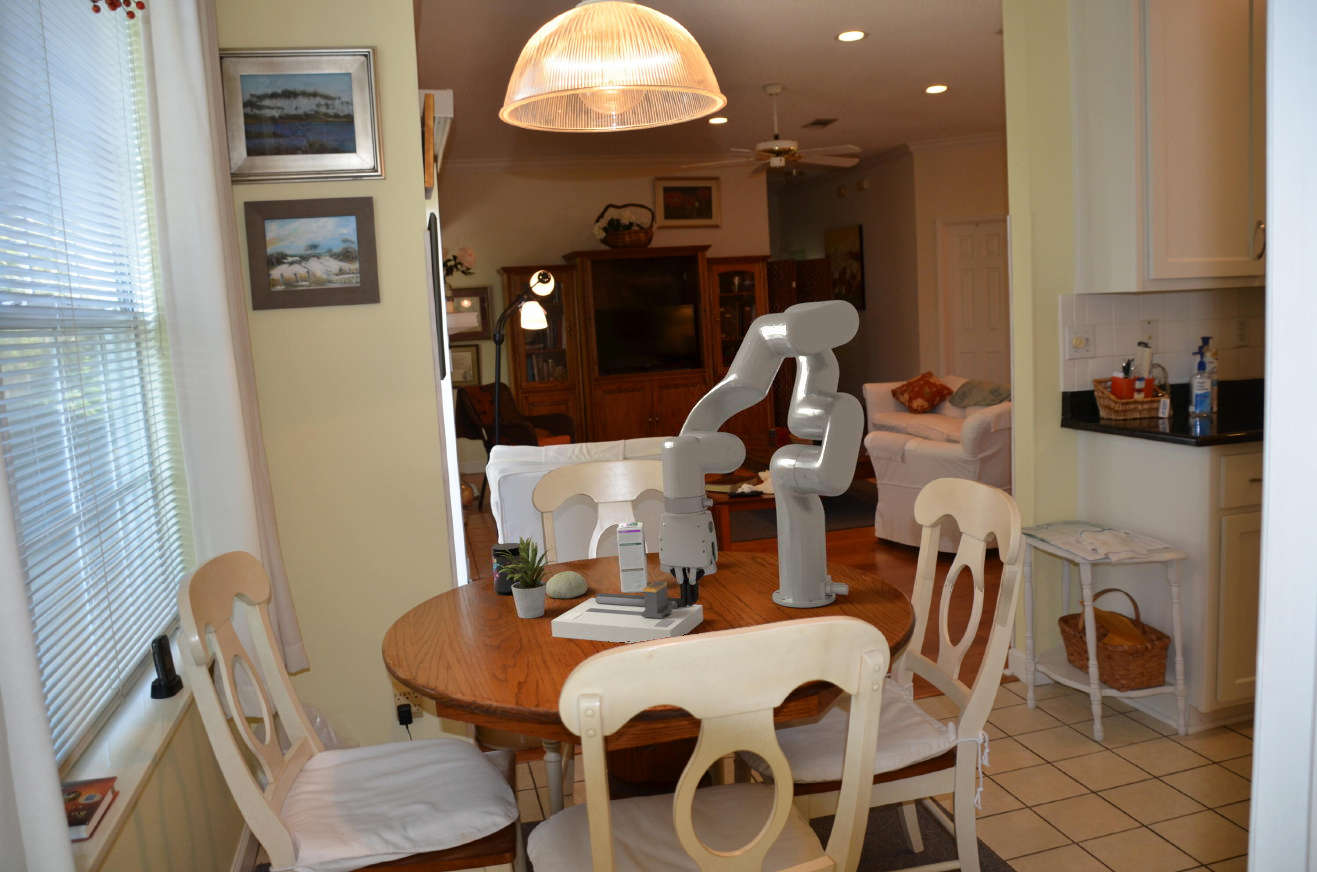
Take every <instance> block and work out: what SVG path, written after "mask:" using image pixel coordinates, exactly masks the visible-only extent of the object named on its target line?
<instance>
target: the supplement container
mask: <svg viewBox="0 0 1317 872" xmlns="http://www.w3.org/2000/svg"><path fill="white" fill-rule="evenodd" d="M519 544H520V542H519V543H518V542H504V543H498V544H496V545H492V546H491V556H492V557H491V558H492V566H493V567H492V569H493V583H494V592H495V594H497V595H499V594H500V595H499V596H513V591H512V587H511V586H512V585H513V584H515V583H518V582H519V581H518V580H517V579H516V580H515V581H514V576H512V577H510V578H508V579H507V577H508V575H511V574H510V573H509V572H508V571H507V570H505V571H502V572H500V573H498V572H499V571H501V570H502V569H505V568H503V567H502V566H504V567H505V566H509V565H514V564H513V563H512V562H511V561H510V560H509V559H508V558H507V557H505V556H508V555H506V554H509V555H511V554H512V555H513V556H514V558H515V559H516V560H517V562H518V563H519V564H520V563H522V562H521V559H520V554H519ZM499 545H501V546H503V547H505V548H506V549H508V550H509V552H510V553H511V554H510V553H509V552H508V551H506V549H505V548H503V547H501V546H499ZM504 549H505V550H504ZM495 552H501V553H495ZM504 553H506V554H504ZM501 555H505V556H501ZM508 557H509V556H508ZM509 558H511V557H509ZM511 559H512V558H511ZM512 560H513V559H512ZM513 561H514V560H513ZM514 563H515V564H516V565H517V563H516V562H515V561H514ZM499 565H502V566H499ZM506 568H507V567H506ZM507 569H511V570H514V571H515V572H516V573H518V574H520V573H519V572H518V570H517V569H516V568H507ZM511 570H509V571H510V572H512V573H514V574H516V573H515V572H514V571H511ZM519 570H520V572H521V573H522V571H521V569H519ZM522 574H523V573H522Z"/></svg>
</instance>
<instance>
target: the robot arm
mask: <svg viewBox="0 0 1317 872" xmlns="http://www.w3.org/2000/svg"><path fill="white" fill-rule="evenodd" d="M859 325H860V317H859V313H858V311H857V309H856V308H855V306H854V305H853V304H852V303H850V302H848V301H846V300H840V299H837V300H836V299H835V300H824V301H813V302H803V303H797V304H794V305H791V306H789V307H788V308H786V309H785V310H784V312H779V313H767V314H764V315H761V316H759V317H757V318H755V320H754V321H753V322H752V323H751V325H750V326H749V329H748V330H747V332H746V334H745V336H744V338H743V341H742V343H741V345H740V347H739V349H738V350H737V352H736V355H735V356H734V359H733V361H732V363H731V365H730V367H729V369H728V372H727V373H726V375H725V376H724V378H723V379H722V380H721V381H720V382H718V383H717V384H715V386H714V387H712V388H711V389H710V391H708V393H706V394H705V395H704V396H703V397H702V398H701V399H700V400H699V401H698V402H697V403H696V404H695V406H694V407H693V408H692V409H691V411H690V413H689V414H688V416H687V418H686V419H685V422H684V423H683V426H682V428H681V430H680V433H678V434H679V435H678V436H672V437H671V436H670V437H667V438H665V439H664V440H663V441H662V443H661V447H660V449H661V466H662V467H661V468H662V484H663V506H664V508H663V509H664V511H663V512H661V514H660V515H661V516H660V521H659V522H660V523H659V533H658V557H659V563H660V568H659V570H660V571H661V572H664V573H668V574H671V575H672V576H673V577H674V579H676V581H677V583H678V584H679V592H680V598H681V599H682V600H683V606H686V605H688V606H692V605H696V603H697V602H698V600H699V598H700V594H699V593H700V591H699V590H700V589H699V582H700V580H701V579H702V578H703V577H705V576H708V575H714V574H715V573H717V571H718V568H717V564H716V563H717V561H718V558H719V557H718V556H719V555H718V554H719V553H718V541H717V535H716V529H715V523H714V519H713V516H712V512H711V510H707V509H708V508H709V507H713V505H714V501H713V499H712V498H708V497H707V494H706V485H705V483H706V481H705V475H706V474H728V473H733V472H734V471H735V470H736V471H737V470H738V469H739V468H740V467H741V466H742V464H743V463H744V461H745V459H746V452H747V451H746V446H745V444H744V443H743V441H742V440H741V439H740V438H739V436H737V435H735V434H732V433H729V432H721V431H718V430H719V428H720V427H721V426H722V425H723V424H724V423H725V422H726V421H727V420H728V419H730V418H731V417H732V416H734V415H736V414H737V413H739V412H741V411H744V410H746V409H748V408H750V407H753V406H755V405H756V404H758V403H760V402H761V401H762V400H764V399H765V398H766V396H767V395H768V393H769V391H770V388H771V387H772V384H773V381H774V380H775V377H776V375H777V373H778V371H779V369H780V367H781V365H782V363H783V362H784V359H785V358H795V360H796V374H795V375H796V376H795V381H794V386H793V391H792V395H791V399H790V405H789V409H788V414H787V427H788V430H789V432H790V433H791V434H792V435H793V436H795V437H797V438H800V439H804V440H805V439H807V440H813V441H815V440H816V441H822V442H821V445H811V444H798V443H792V444H787V445H784V446H782V447H780V448H778V449H776V451H775V452H774V453H773V455H772V456H771V459H770V463H769V475H770V481H771V485H772V489H773V494H774V498H775V499H774V500H775V508H776V527H777V529H776V530H777V551H778V554H777V555H778V573H779V574H778V575H779V589H777V590H775V591H774V592H773V593H772V601H773V602H774V603H776V604H778V605H779V606H784V607H789V608H801V609H802V608H816V607H822V606H826V605H830V604H831V603H832V604H833V603H834V601H835V600H836V595H837V594H838V595H841V596H843V595H844V596H845V595H846V596H848V594H849V591H850V589H849V585H848V584H846V583H845V582H834V581H833V580H832V575H829V574H828V571H827V547H826V545H827V543H826V540H827V539H826V515H825V510H824V506H823V503H822V500H821V498H820V496H826V497H837V496H840V495H843V494H844V493H845V492H847V490H848V489H849V488H850V486H851V483H852V482H853V478H854V475H855V471H856V467H857V463H858V462H857V461H858V458H859V454H860V453H859V451H860V447H861V443H862V438H863V432H864V426H865V416H864V414H865V413H864V410H863V406H862V404H861V403H860V400H858V398H856V397H855V396H854V395H852V394H850V393H847V392H837V391H838V384H839V380H840V379H839V378H840V367H839V362H838V360H837V358H836V355H835V354H834V352H833V350H832V349H834V348H837V347H839V346H842V345H845V344H848V343H849V342H850V341H851V340H852V339H853V338H854V337H855V336H856V334H857V332H858V329H859ZM687 568H690V573H689V574H688V571H687Z"/></svg>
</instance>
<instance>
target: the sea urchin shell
mask: <svg viewBox="0 0 1317 872" xmlns="http://www.w3.org/2000/svg"><path fill="white" fill-rule="evenodd" d="M546 583H547V585H546V594H547V596H548V597H549V598H554V599H560V600H561V599H564V600H565V599H572V598H576V597H580V596H582V595H584V594H586V593H587V590H588V582H587V580H586V579H585V578H584V576H582V575H581V574H580V573H578V572H577V571H571V570H569V571H567V570H565V571H561V572H558V573H556V574H553V576H551V578H549V579H548V580H547V582H546Z"/></svg>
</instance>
